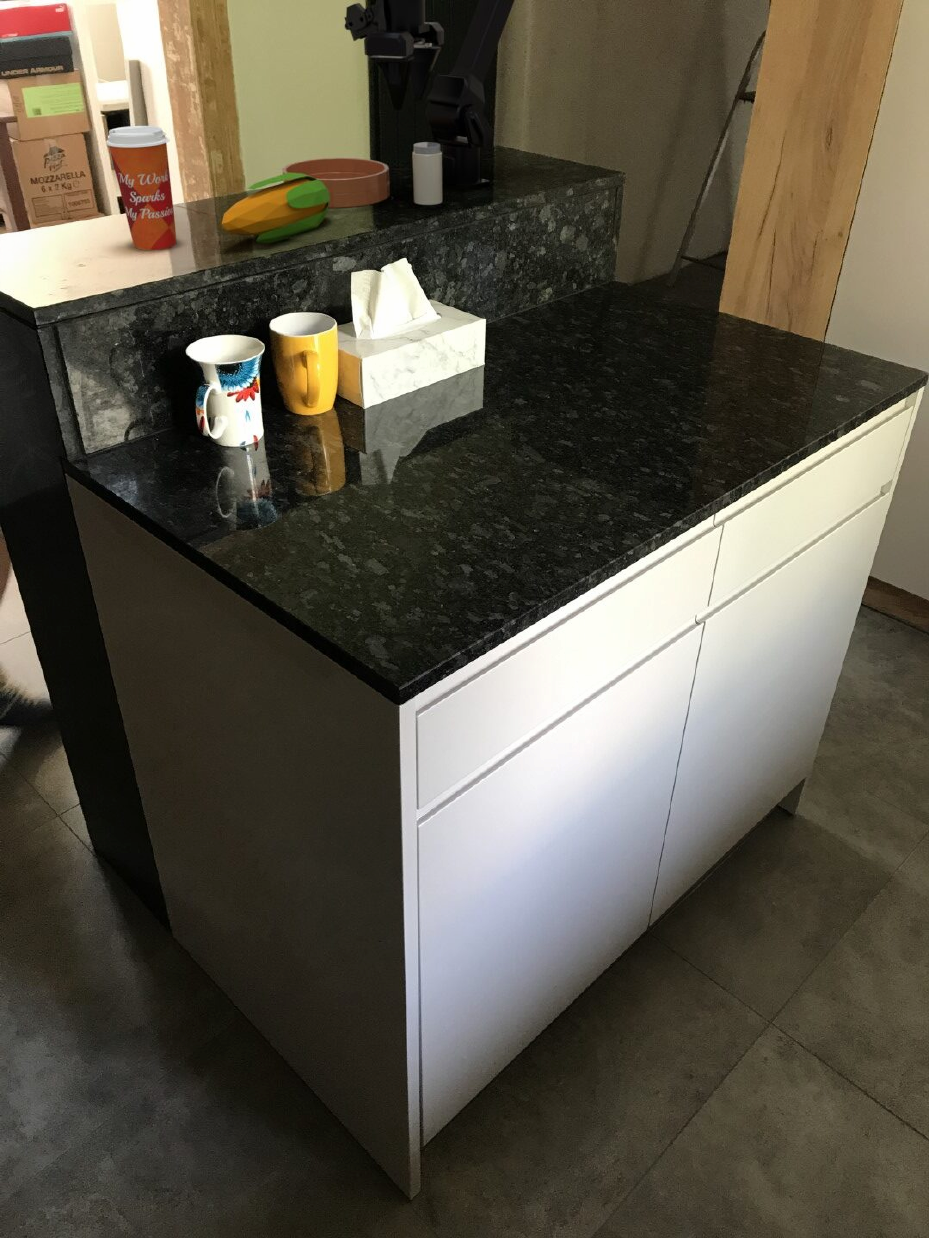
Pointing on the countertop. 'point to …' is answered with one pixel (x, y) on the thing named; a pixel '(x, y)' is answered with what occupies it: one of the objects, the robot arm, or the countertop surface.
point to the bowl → (347, 179)
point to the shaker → (427, 173)
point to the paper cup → (144, 184)
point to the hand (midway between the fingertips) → (407, 105)
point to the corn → (279, 208)
